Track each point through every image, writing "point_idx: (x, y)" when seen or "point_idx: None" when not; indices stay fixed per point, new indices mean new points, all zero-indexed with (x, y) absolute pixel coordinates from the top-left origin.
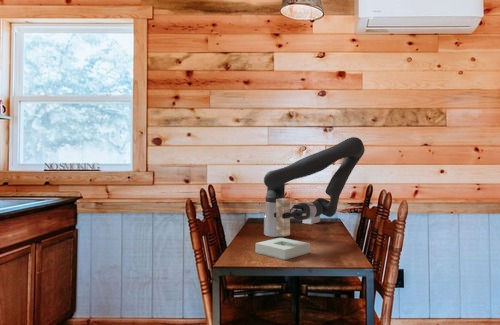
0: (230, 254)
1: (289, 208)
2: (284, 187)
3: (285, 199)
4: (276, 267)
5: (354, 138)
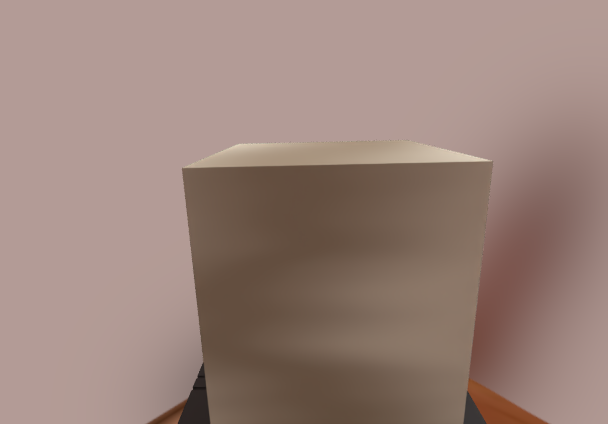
0: (484, 403)
1: (211, 406)
2: None
3: (238, 150)
4: (173, 408)
5: None
